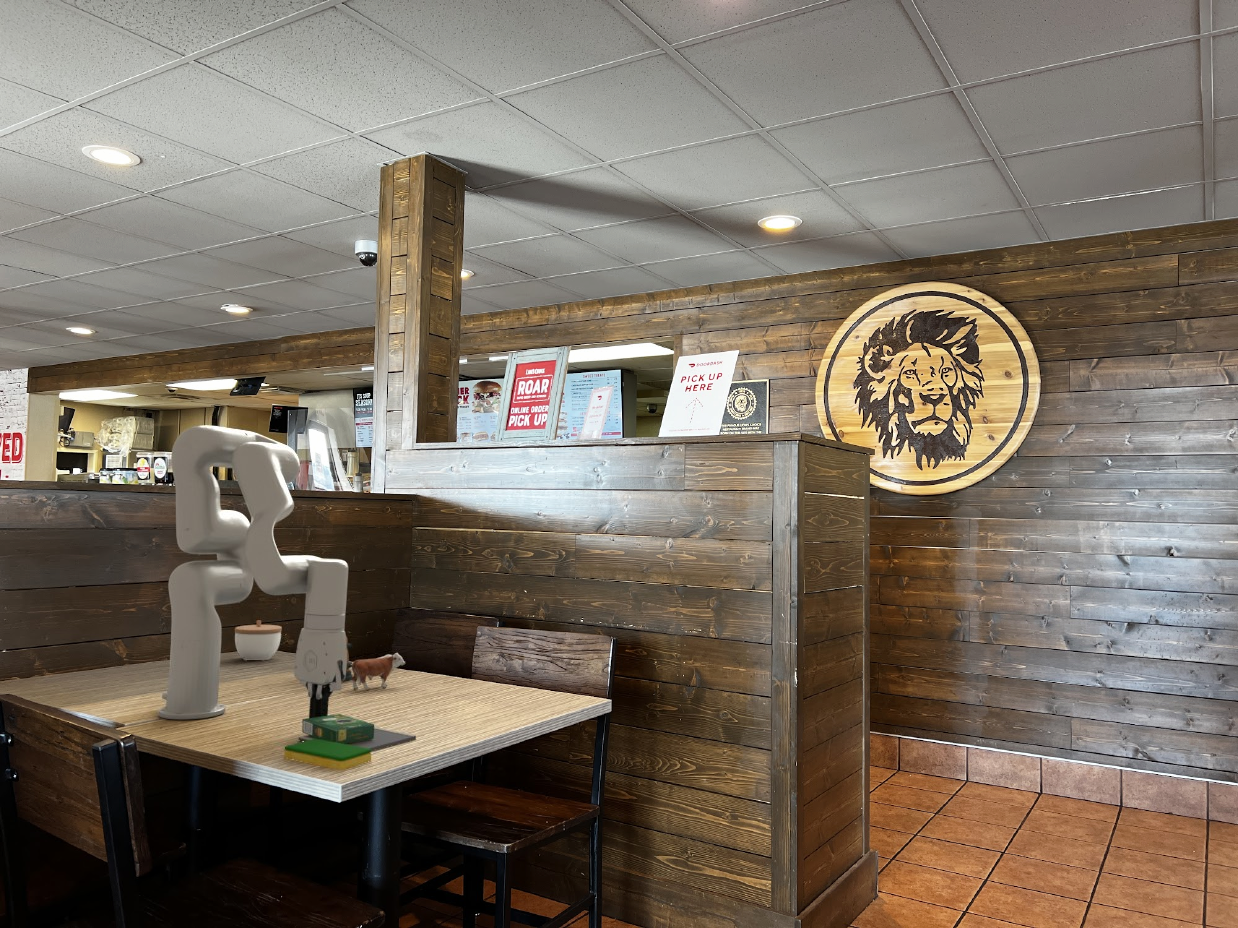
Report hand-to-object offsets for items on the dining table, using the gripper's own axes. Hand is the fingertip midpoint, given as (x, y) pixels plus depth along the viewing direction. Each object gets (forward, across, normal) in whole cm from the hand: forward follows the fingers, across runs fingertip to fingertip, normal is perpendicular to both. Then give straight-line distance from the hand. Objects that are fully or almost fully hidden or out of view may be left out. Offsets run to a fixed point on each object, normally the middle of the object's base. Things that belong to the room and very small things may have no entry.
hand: (318, 718), depth 171 cm
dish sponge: (+3, +17, -12) cm, 21 cm away
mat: (+2, +11, 0) cm, 11 cm away
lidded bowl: (+5, -84, +48) cm, 98 cm away
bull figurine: (+4, -26, +39) cm, 47 cm away
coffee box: (+1, +1, 0) cm, 1 cm away
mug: (+4, -44, +40) cm, 59 cm away
